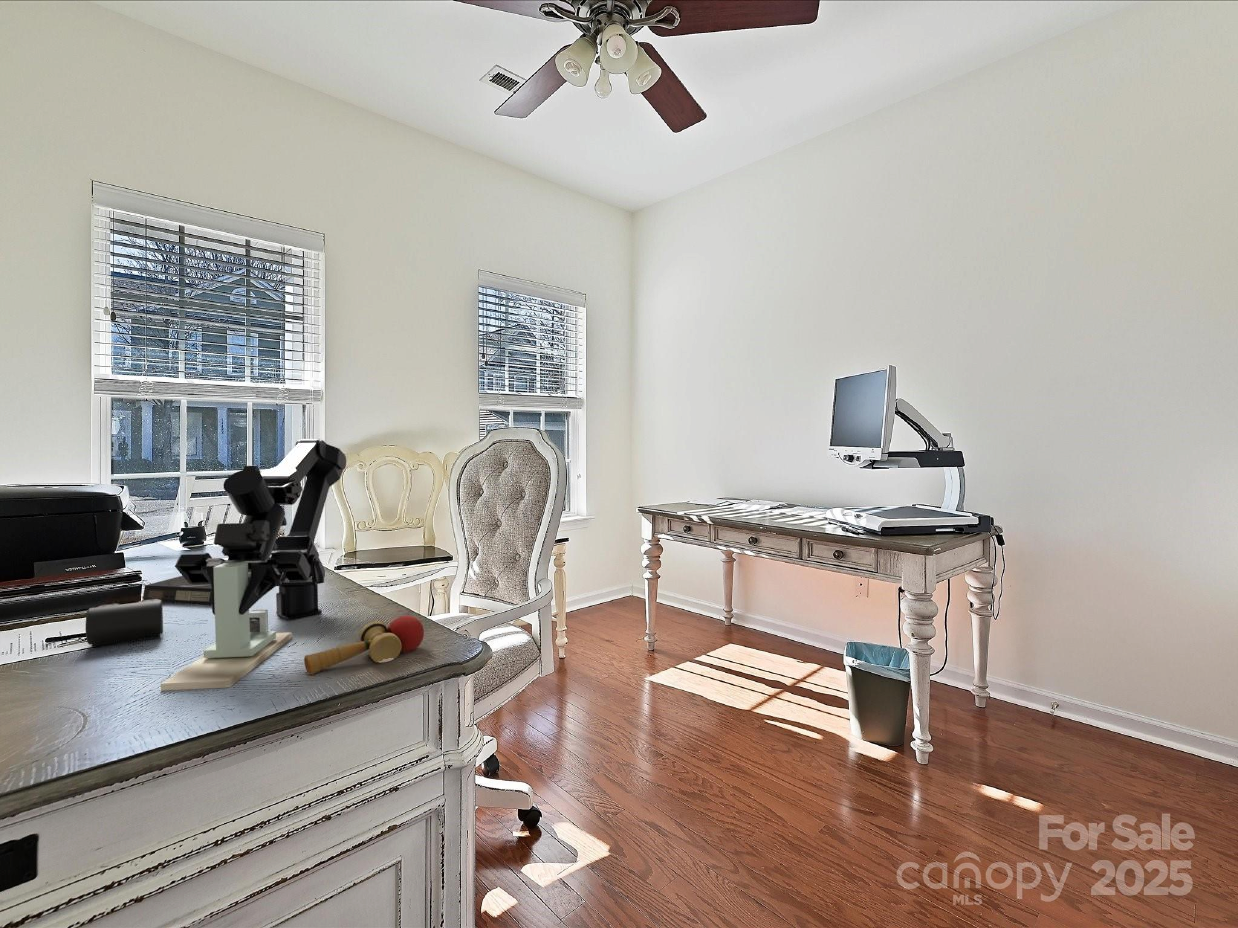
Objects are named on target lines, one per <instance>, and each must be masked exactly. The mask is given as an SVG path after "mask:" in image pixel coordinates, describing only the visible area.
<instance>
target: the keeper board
mask: <svg viewBox="0 0 1238 928" xmlns="http://www.w3.org/2000/svg"><path fill="white" fill-rule="evenodd" d="M268 610H269V609H253V610H249V612H255V611H267V619H268V620H269V618H268V617H269V614H268ZM249 621H250V632H260V617H254V618H249ZM292 637H293V636H292V632H291V631H290V632H276V638H275V639H274V640H273V641H271V642H270V643H269V644H267V645H266V646H265V647H263V648H262V649H261V650H259V651H258V652H257V653H255V654H254V655H253V656H243V657H220V658H204V655H202V656H201V657H200V658H198V659H197V660H195V661H193V662H192V663H190V664H189V665H187V666H186V667H184V668H183V669H181V670H180V671H178V672H177V673H175V674H174V675H172V676H170V677H169V678H167V679H166V680H164V681H163V682H161V683H160V691H161V692H162V691H163V692H164V691H165V692H166V691H180V690H181V691H182V690H202V689H203V690H204V689H205V690H206V689H223V688H224V689H225V688H231V687H232V686H233V685H235V684H236V683H238V681H240V680H241V679H242V678H244V677H245V676H246V675H247V674H248V673H250V672H252V670H254V669H255V668H256V667H257V666H258V665H259V664H261V663H262V662H263V661H265V660H266V659H267V658H268V657H269V656H271V655H272V654H273V653H275V652H276V651H277V650H278V649H280V648H281V647H282V646H283V645H285V644H286V643H288V641H290V640H291V639H292Z"/></svg>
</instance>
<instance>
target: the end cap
mask: <svg viewBox="0 0 1238 928" xmlns="http://www.w3.org/2000/svg"><path fill="white" fill-rule="evenodd" d="M163 612H164V610H163V603H162V600H159V599H151V600H143V599H142V600H138V601H137V602H131V603H123V604H119V603H115V602H113V603H111V604H106V603H103V604H102V605H99V606H98V605H97V607H89V608H88V609H87V611H86V616H85V636H86V637H85V639H86V642H87V644H88V645H91V647H92V648H97V647H102V646H109V645H110V646H111V645H116V644H125V643H129V642H135V641H143V640H149V639H158V638H160V637H161V635H162V634H163V633H164V613H163Z"/></svg>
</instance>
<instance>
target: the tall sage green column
mask: <svg viewBox="0 0 1238 928" xmlns="http://www.w3.org/2000/svg"><path fill="white" fill-rule="evenodd" d="M213 568H214V601H215V615H214V625H215V626H214V627H215V628H214V629H215V631H214V632H215V643H213V644H212V645H210V646H208V647H207V648H205V649H204V650H203V656H204V658H220V657H243V656H253V655H254V654H255V653H257V652H258V651H259V650H261V649H262V648H263V647H265V646H266V645H267V644H269V643H270V642H271V641H273V640H274V639H275V638H276V633H277V630H271V631H270V630H269V618H268V619H267V611H255V612H250V609H249V610H248V611H247V612H245V613H244V614H243V615H240V613H239V607H240V603H241V601H242V598H243V596H244V593H245V591H246V589H247V586H248V562H232V563H223V564H220V565H218V566H215V567H213ZM254 617H260V632H250V621H249V618H254Z"/></svg>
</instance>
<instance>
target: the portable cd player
mask: <svg viewBox="0 0 1238 928" xmlns="http://www.w3.org/2000/svg"><path fill="white" fill-rule="evenodd" d="M250 579H251V573H248V584H249V581H250ZM143 588H144V589H143V595H142V600H151V599H159V600H162V604H164V603H165V604H178V605H180V604H181V605H196V606H197V605H198V606H199V605H200V606H212V588H211V584H201V585H193V584H190V583H188V582H187V580H186V579H185V578H184V577H183V576H182V575H180V576H176V577H172V578H167V579H164V580H161V581H157V582H153V583H149V584H145V585H144V587H143Z"/></svg>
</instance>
